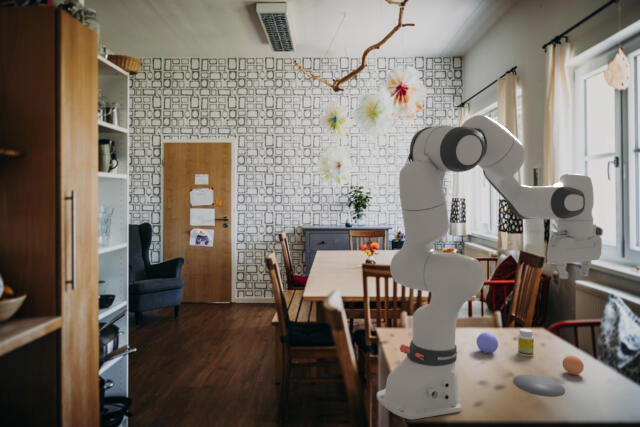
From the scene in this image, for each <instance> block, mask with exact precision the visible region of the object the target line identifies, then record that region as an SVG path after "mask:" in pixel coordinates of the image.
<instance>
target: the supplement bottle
mask: <svg viewBox="0 0 640 427" xmlns="http://www.w3.org/2000/svg"><path fill="white" fill-rule="evenodd" d="M533 335H534V334H533V330H532V329H529V328H520V329H519V335H518V338H517V341H518V342H517V353H518V355H521V356H524V357H532V356H534V336H533Z"/></svg>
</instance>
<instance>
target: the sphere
mask: <svg viewBox="0 0 640 427" xmlns="http://www.w3.org/2000/svg"><path fill="white" fill-rule="evenodd" d="M475 343H476V346H477V347H478V350H480V351H481V353H485V354H492V353H493V354H494V353H495V352H496V351H497V350H498V348H499V342H498V338H497V337H496V336H495V335H494V334H492V333H491V332H482V333H480V334H479V335H478V336H477V338H476V342H475Z"/></svg>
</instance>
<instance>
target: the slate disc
mask: <svg viewBox="0 0 640 427" xmlns="http://www.w3.org/2000/svg"><path fill="white" fill-rule="evenodd" d="M512 381H513V383H514V385H515V386H516V387H518V388H519V389H521V390H523V391H526V392H528V393H530V394H535V395H539V396H545V397H558V396H563V395H564V394H565V393H566V390H565V387H564V386H563V385H562V384H561V383H559V382H557V381H555V380H553V379H550V378H547V377H544V376H540V375H534V374H519V375H517V376H515V377H513V379H512Z"/></svg>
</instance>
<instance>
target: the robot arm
mask: <svg viewBox="0 0 640 427" xmlns="http://www.w3.org/2000/svg"><path fill="white" fill-rule="evenodd" d="M525 159H526V150H525V147H524V145H523V144H522V142H521V140H519V139H518V138H517V137H516V136H515V135H514V134H512V133H511V132H510V131H509V130H508V129H507V128H506V127H504V126H503V125H501V124H500V123H498V122H497V121H496V120H495V119H492V118H491V117H488V116H486V115H483V114H477V115H473V116H471V117H469V118H468V119H467V120H465V121H464V122H463V123H462V125H460V126H452V125H436V126H427V127H424V128H422V129H420V130H418V131H417V132H416V133H415V134H414V135H413V136H412V138H411V141H410V145H409V154H408V163H407V164H405V165H403V167H402V168H401V169H400V172H399V176H398V177H399V180H398V181H399V182H398V185H399V198H400V199H399V201H400V207H401V212H402V219H403V226H404V240H403V244H402V247H401V248H400V250H399V251H397V252H396V253H395V254H394V255H393V257H392V258H391V261H390V264H389V265H390V266H389V270H390V276H391V278H392V279H393V281H394V283H397V284H398V285H401V286H403V287H405V288H408V289H411V290H417V291H422V292H423V291H424V292H426V293H427V292H429V293H431V298H430V301H429V303H426V304H424V305H422V306H419V307H418V308H417V309H416V310H415V311H414V313H413V314H412V336H411V337H412V340H410V343H409V346H408V345H405V344H401V345H400V346H399V351H400V352H401V353H404V354H406V357H405V358H404V359H403V360H402V361H401V362H400V363H399V364H398V365H397V366H395V368H394V369H392V370H391V372H389V374H388V375H387V378H386V384H385V388H384V389H381V390H379V391H377V392H376V399H377V401H378V402H379V403H380V404H381V405H382V406H383V407H384V408H385V409H387V410H388V411H390V412H391V413H393V414H394V415H396V416H399V417H400V418H403V419H407V420H418V419H419V420H420V419H424V418H430V417H436V416H441V415H448V414H454V413H460V412H461V411H462V404H461V400H462V398H461V395H460V391H459V385H458V384H459V383H458V375H457V370H456V361H457V356H458V351H457V349H458V348H457V345H456V332H457V331H456V329H457V320H458V316H459V313H460V310H461V309H462V307H463V305H465V303H466V302H467V301H468V300H470V299H471V298H473V297H475V296H476V295H477V294H479V293H480V291H481V290H482V289H483V287H484V284H485V280H486V277H485V275H486V273H485V270H484V267H483V265H482V264H481V262H480V261H479V260H478V259H476V258H475V257H471V256H468V255H465V254H462V253H453V252H444V251H437V250H436V249H435V247H434V243H436V242H438V241H440V240H441V239H443V238H445V236H446V235H447V234H448V231H449V228H450V222H449V221H450V220H449V216H448V215H449V214H448V208H447V201H446V195H445V190H444V187H443V186H444V178H445V174H446V173H447V172H454V173H460V172H461V173H462V172H468V171H471V170H473V169H474V168H475V167H476V166H479V167H480V168H481V169H482V173H483V176H484V177H485V180H487V182H488V183H489V184H490V185H491V186H492V187H493V188H494V189H495V190H496V192H497V193H498V194H499V195H500V196H501V197H502V198H503V199H504V200H505V202H506V203H507V205H508V207H509V208H510V211H511V212H512V214H513V215H514V216H515V217H516V218H518V219H521V220H534V219H535V220H536V219H537V220H556V221H557V222H556V224H557V226H556V231H554V232H553V233H552V235H550V238H549V240H548V243H547V252H546V261H547V262H548V264H553V265H555V266H556V269H557V271H558V274H559V275H558V277H559V279H561V280H566V279H569V272H567V269H566V268H567V265H568V264H574V263H581V268H579V270H578V272H579V273H578V275H579V276H581V277H588V276H589V270H590V267H591V265H592V261H596V260H600V258H601V255H602V249H603V248H602V247H603V246H602V244H603V242H602V236H603V233H604V229H603V228H602V227H600V226H597V225H596V224H594V217H593V214H592V213H593V212H592V210H593V208H594V204H595V203H594V187H593V182H592V179H591V177H589V176H587V175H585V174H581V173H579V174H578V173H566V174H562V175H561V176H560V179H559V180H558V181H556V182H555V183H553V184H551V185H543V186H539V185H537V186H532V185H531V186H530V185H525V184H524V185H523V184H521V183H520V182H519V181H518V180H517V179H516V177H515V175H516V174H517V173H518V172H519V170H520V169H521V168H522V166H523V165H524V163H525Z"/></svg>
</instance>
